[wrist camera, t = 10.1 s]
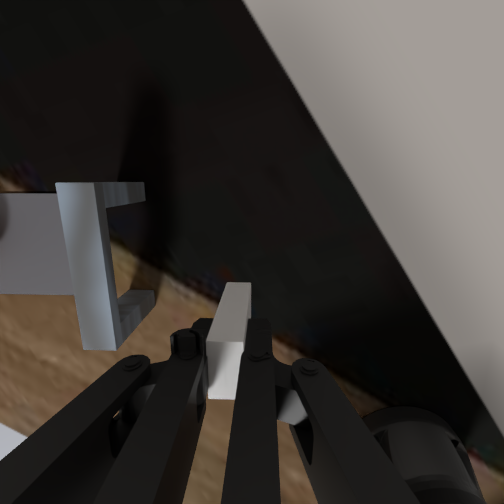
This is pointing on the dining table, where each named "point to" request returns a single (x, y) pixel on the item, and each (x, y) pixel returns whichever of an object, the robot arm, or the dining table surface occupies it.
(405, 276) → the dining table surface
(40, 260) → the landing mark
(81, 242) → the bridge
